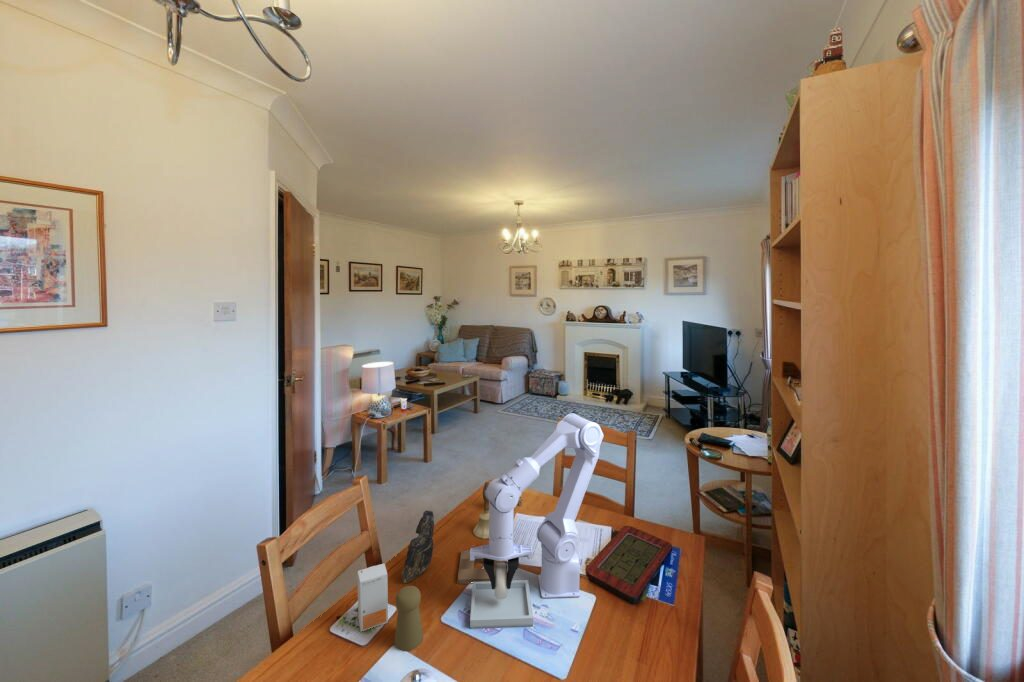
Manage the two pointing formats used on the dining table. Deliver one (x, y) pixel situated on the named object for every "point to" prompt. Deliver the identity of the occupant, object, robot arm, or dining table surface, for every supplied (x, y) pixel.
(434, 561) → the dining table surface
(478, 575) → the brown square board
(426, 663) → the dining table surface
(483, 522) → the hand bell
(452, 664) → the dining table surface
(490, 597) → the grey tray
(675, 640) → the dining table surface
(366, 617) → the skincare box
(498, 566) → the dowel
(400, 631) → the olive game pawn
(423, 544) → the statue
